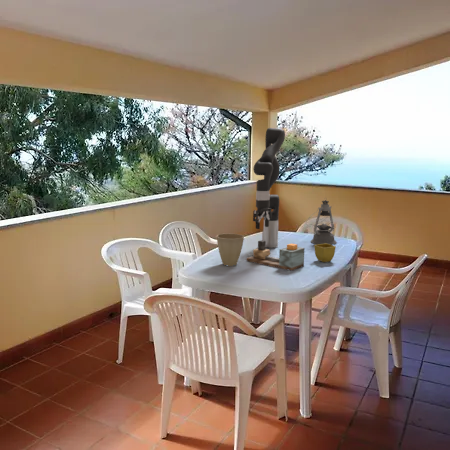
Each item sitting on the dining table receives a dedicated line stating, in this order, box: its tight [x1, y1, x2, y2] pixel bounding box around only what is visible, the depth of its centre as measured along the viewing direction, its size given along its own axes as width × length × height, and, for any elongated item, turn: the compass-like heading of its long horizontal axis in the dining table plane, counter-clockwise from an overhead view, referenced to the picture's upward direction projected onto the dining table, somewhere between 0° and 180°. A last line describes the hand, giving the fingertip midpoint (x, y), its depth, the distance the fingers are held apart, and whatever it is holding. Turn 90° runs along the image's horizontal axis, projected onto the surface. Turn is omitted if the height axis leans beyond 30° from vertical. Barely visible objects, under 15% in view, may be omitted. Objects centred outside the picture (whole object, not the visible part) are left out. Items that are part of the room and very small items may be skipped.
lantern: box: [305, 198, 338, 245], centre depth 307 cm, size 18×20×30 cm
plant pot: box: [216, 233, 245, 267], centre depth 251 cm, size 15×15×16 cm
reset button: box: [286, 243, 298, 250], centre depth 246 cm, size 4×4×3 cm
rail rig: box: [246, 246, 305, 271], centre depth 254 cm, size 30×12×10 cm, turn 49°
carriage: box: [252, 239, 271, 259], centre depth 259 cm, size 7×6×10 cm
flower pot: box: [313, 243, 337, 263], centre depth 260 cm, size 9×9×9 cm
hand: (262, 227), depth 257 cm, fingers open, 8 cm apart
